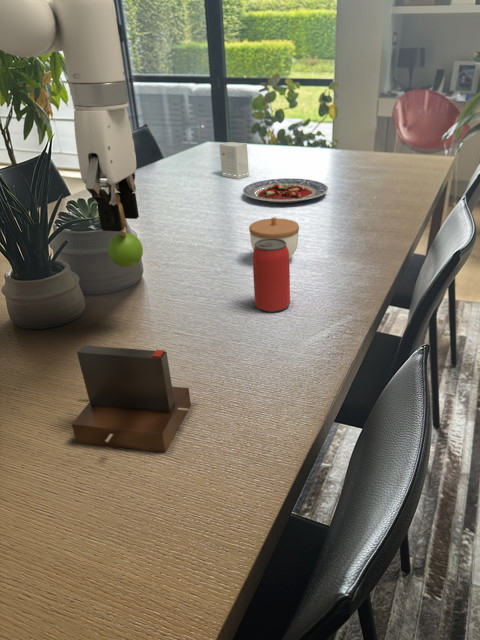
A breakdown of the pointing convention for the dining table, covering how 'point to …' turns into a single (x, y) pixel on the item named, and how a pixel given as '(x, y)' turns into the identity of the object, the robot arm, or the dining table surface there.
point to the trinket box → (275, 232)
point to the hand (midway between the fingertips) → (120, 223)
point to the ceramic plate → (285, 190)
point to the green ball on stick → (124, 243)
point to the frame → (127, 378)
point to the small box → (234, 159)
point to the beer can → (271, 274)
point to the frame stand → (131, 424)
